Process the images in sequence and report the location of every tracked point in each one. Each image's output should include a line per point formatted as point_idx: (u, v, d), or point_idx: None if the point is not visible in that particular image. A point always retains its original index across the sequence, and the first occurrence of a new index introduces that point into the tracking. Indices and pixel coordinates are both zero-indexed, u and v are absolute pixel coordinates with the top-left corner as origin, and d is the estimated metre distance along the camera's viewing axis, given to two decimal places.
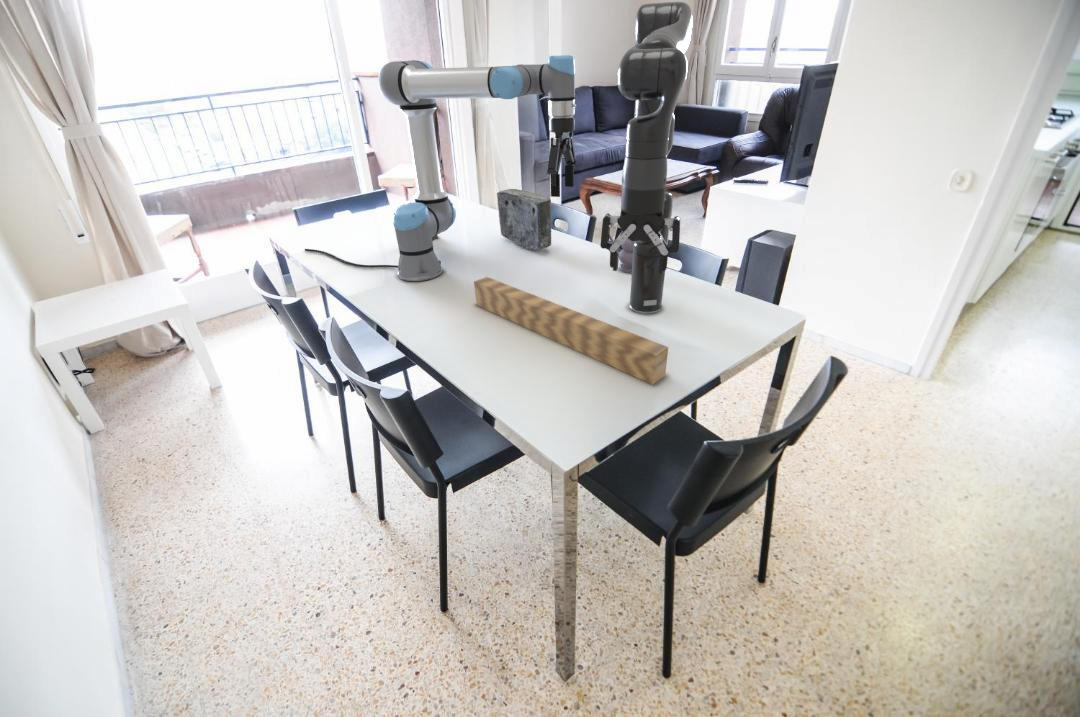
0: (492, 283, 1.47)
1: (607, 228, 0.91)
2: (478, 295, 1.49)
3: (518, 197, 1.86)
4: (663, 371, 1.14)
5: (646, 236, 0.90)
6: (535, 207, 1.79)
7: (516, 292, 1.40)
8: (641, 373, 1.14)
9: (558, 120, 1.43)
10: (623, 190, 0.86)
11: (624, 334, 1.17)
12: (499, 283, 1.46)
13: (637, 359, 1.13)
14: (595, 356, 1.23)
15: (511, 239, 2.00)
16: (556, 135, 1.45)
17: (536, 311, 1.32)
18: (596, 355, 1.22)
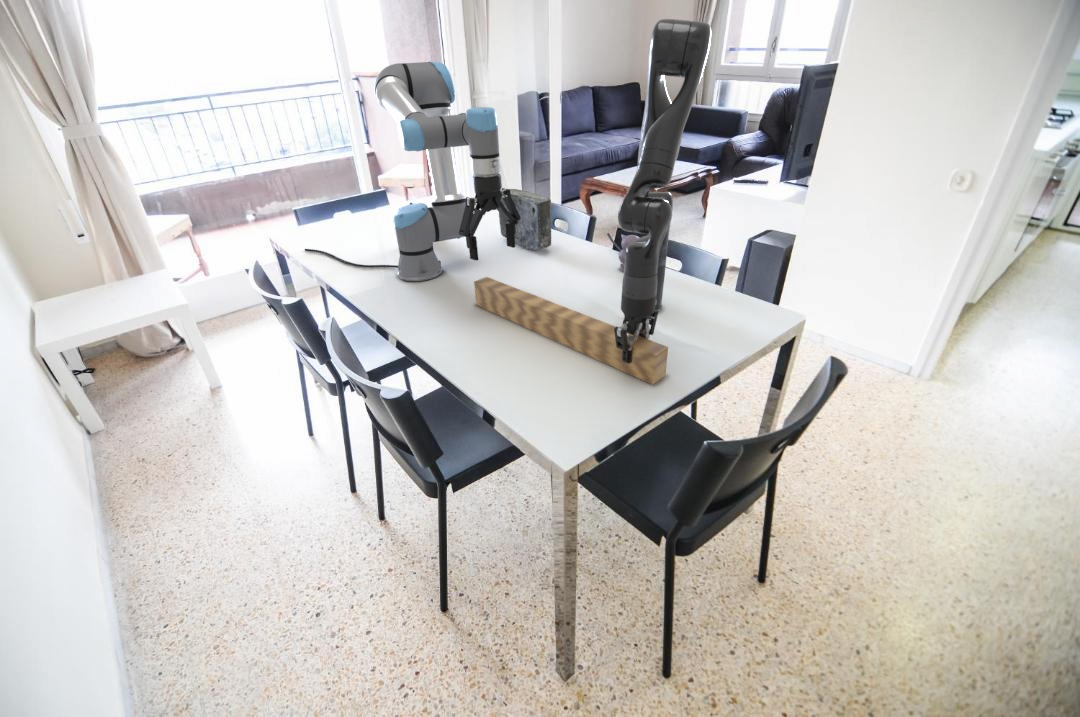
0: (492, 283, 1.47)
1: None
2: (478, 295, 1.49)
3: (518, 197, 1.86)
4: (663, 371, 1.14)
5: None
6: (535, 207, 1.79)
7: (516, 292, 1.40)
8: (641, 373, 1.14)
9: (476, 179, 1.27)
10: None
11: None
12: (499, 283, 1.46)
13: (637, 359, 1.13)
14: (595, 356, 1.23)
15: None
16: (475, 194, 1.29)
17: (536, 311, 1.32)
18: (596, 355, 1.22)
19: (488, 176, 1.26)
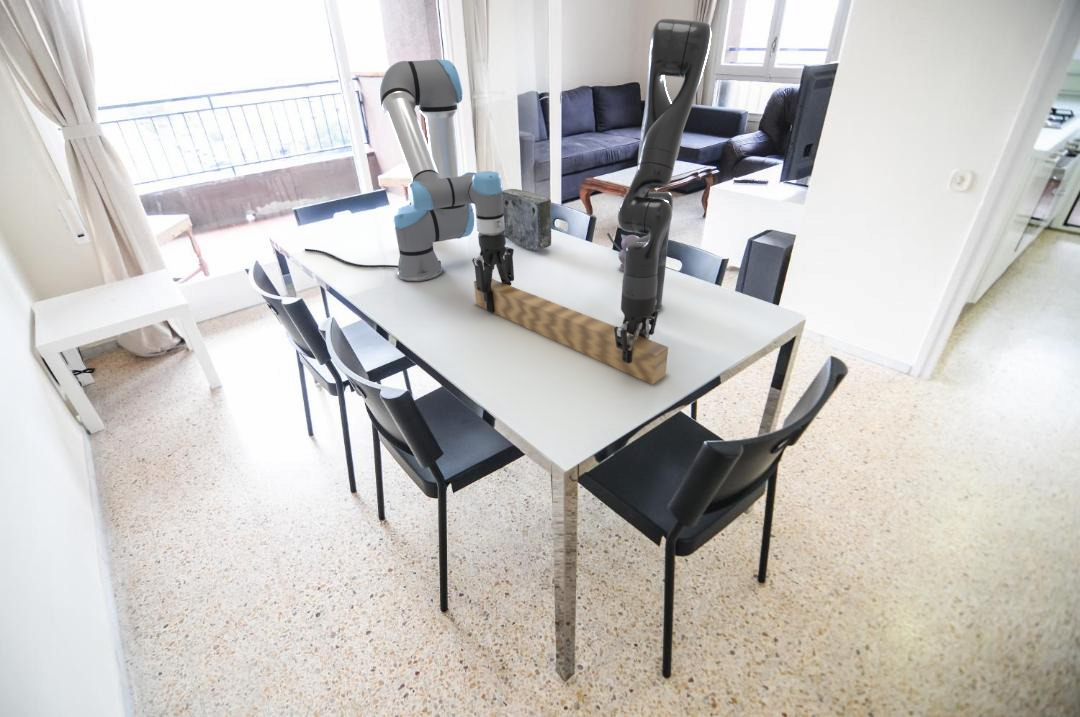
0: (492, 283, 1.47)
1: None
2: (478, 295, 1.49)
3: (518, 197, 1.86)
4: (663, 371, 1.14)
5: None
6: (535, 207, 1.79)
7: (516, 292, 1.40)
8: (641, 373, 1.14)
9: (481, 237, 1.35)
10: None
11: None
12: (499, 283, 1.46)
13: (637, 359, 1.13)
14: (595, 356, 1.23)
15: (511, 239, 2.00)
16: (481, 250, 1.37)
17: (536, 311, 1.32)
18: (596, 355, 1.22)
19: (493, 234, 1.34)
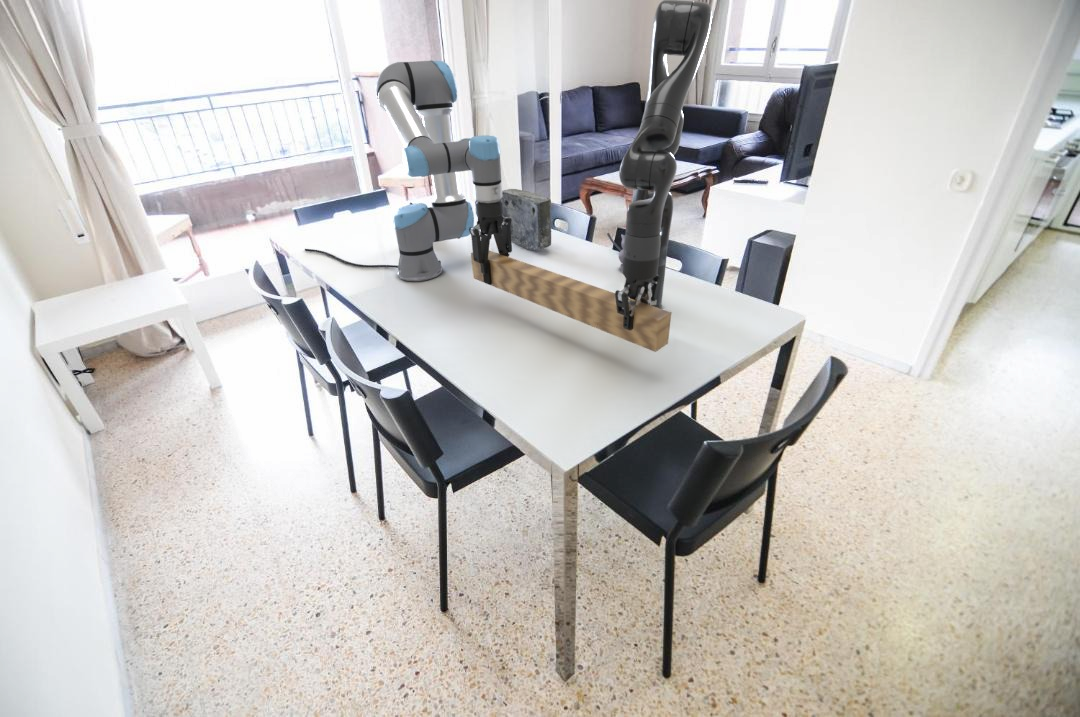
0: (490, 254, 1.42)
1: None
2: (475, 267, 1.45)
3: (518, 197, 1.86)
4: (666, 338, 1.10)
5: None
6: (535, 207, 1.79)
7: (514, 263, 1.36)
8: (643, 340, 1.10)
9: (478, 204, 1.30)
10: None
11: None
12: (496, 254, 1.42)
13: (639, 325, 1.09)
14: (595, 325, 1.19)
15: (511, 239, 2.00)
16: (478, 219, 1.33)
17: (535, 280, 1.28)
18: (597, 323, 1.18)
19: (490, 202, 1.30)
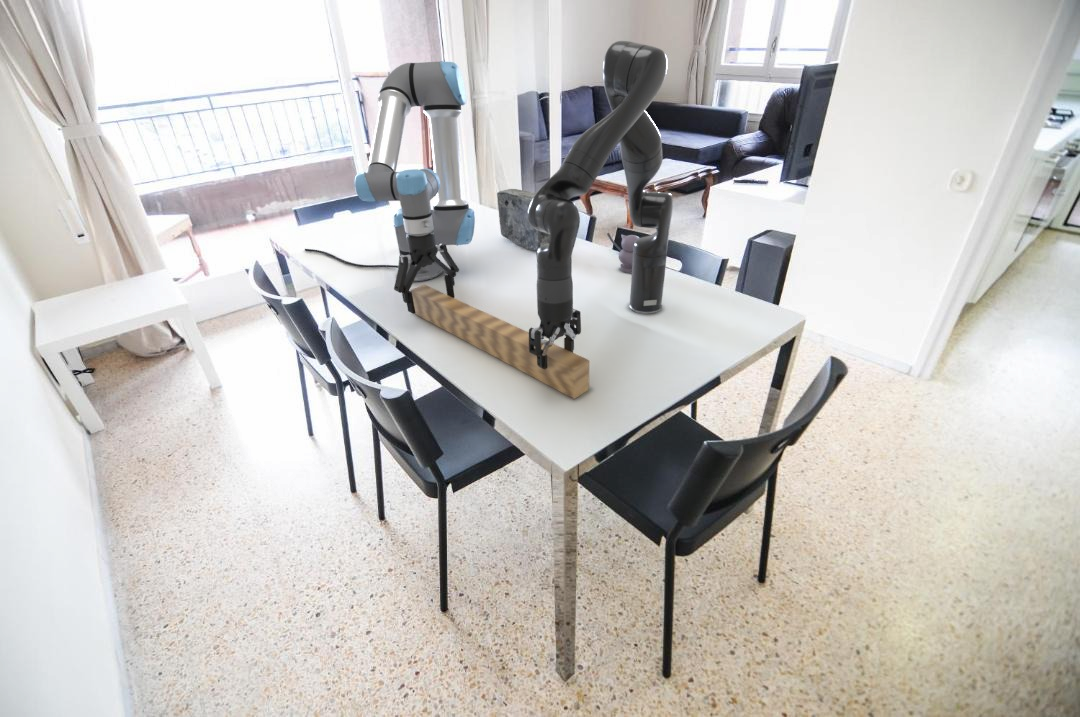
0: (428, 291, 1.43)
1: None
2: (415, 303, 1.46)
3: (518, 197, 1.86)
4: (586, 385, 1.11)
5: None
6: None
7: (450, 301, 1.36)
8: (563, 387, 1.11)
9: (409, 237, 1.30)
10: None
11: None
12: (435, 291, 1.43)
13: (558, 372, 1.09)
14: (521, 368, 1.19)
15: (511, 239, 2.00)
16: (410, 251, 1.33)
17: (466, 321, 1.29)
18: (522, 367, 1.19)
19: (420, 235, 1.30)
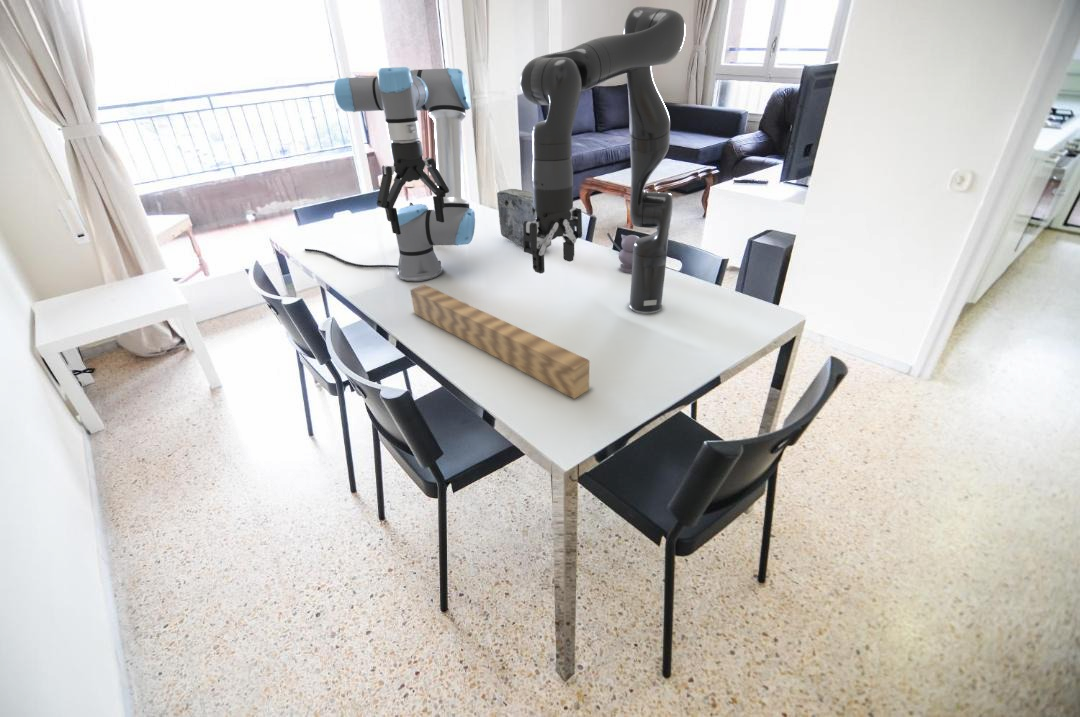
0: (428, 291, 1.43)
1: None
2: (415, 303, 1.46)
3: (518, 197, 1.86)
4: (586, 385, 1.11)
5: None
6: None
7: (450, 301, 1.36)
8: (563, 387, 1.11)
9: (392, 145, 1.19)
10: None
11: (548, 346, 1.14)
12: (435, 291, 1.43)
13: (558, 372, 1.09)
14: (521, 368, 1.19)
15: (511, 239, 2.00)
16: (394, 162, 1.21)
17: (466, 321, 1.29)
18: (522, 367, 1.19)
19: (405, 142, 1.18)
